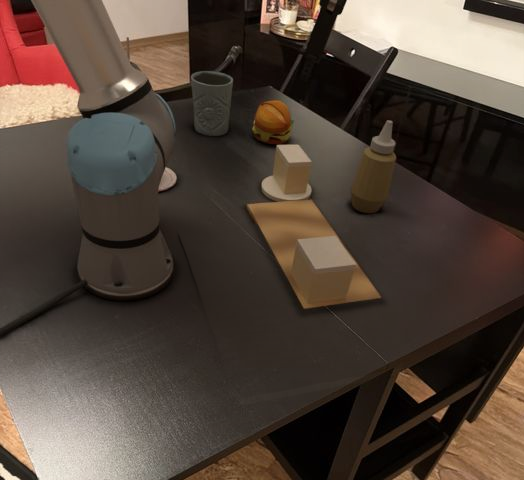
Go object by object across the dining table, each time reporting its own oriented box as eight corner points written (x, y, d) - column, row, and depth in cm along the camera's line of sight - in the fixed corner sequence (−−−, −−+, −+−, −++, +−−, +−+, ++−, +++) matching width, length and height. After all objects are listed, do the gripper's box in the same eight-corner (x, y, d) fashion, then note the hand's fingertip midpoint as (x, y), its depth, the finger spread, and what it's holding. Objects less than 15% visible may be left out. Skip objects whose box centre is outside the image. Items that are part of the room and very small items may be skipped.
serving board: (380, 302, 82) (381, 297, 81) (302, 313, 78) (304, 308, 77) (310, 203, 102) (311, 199, 101) (246, 208, 98) (246, 203, 97)
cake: (346, 298, 80) (356, 264, 75) (307, 303, 78) (315, 269, 73) (327, 269, 85) (335, 235, 80) (290, 273, 83) (297, 239, 78)
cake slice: (305, 193, 103) (311, 161, 98) (284, 194, 101) (288, 162, 96) (293, 175, 108) (298, 144, 103) (272, 176, 107) (276, 144, 101)
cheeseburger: (292, 131, 127) (298, 95, 118) (288, 158, 121) (294, 122, 113) (254, 125, 126) (257, 89, 118) (248, 151, 121) (251, 115, 112)
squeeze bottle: (355, 218, 100) (379, 130, 87) (340, 198, 105) (361, 112, 92) (389, 216, 102) (418, 130, 89) (373, 196, 107) (398, 113, 94)
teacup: (185, 189, 101) (184, 160, 96) (128, 197, 96) (125, 167, 92) (165, 163, 108) (164, 135, 103) (112, 169, 103) (108, 141, 98)
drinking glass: (207, 140, 118) (208, 87, 109) (183, 125, 123) (182, 73, 114) (238, 132, 123) (241, 81, 114) (214, 117, 128) (215, 68, 119)
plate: (288, 209, 99) (289, 205, 99) (250, 187, 104) (251, 183, 103) (320, 193, 105) (321, 189, 105) (283, 173, 110) (284, 169, 109)
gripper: (389, -55, 55) (311, 125, 74) (396, -86, 63) (324, 86, 82) (329, -85, 54) (267, 106, 73) (344, -112, 62) (283, 67, 81)
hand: (297, 95), depth 78 cm, fingers closed
